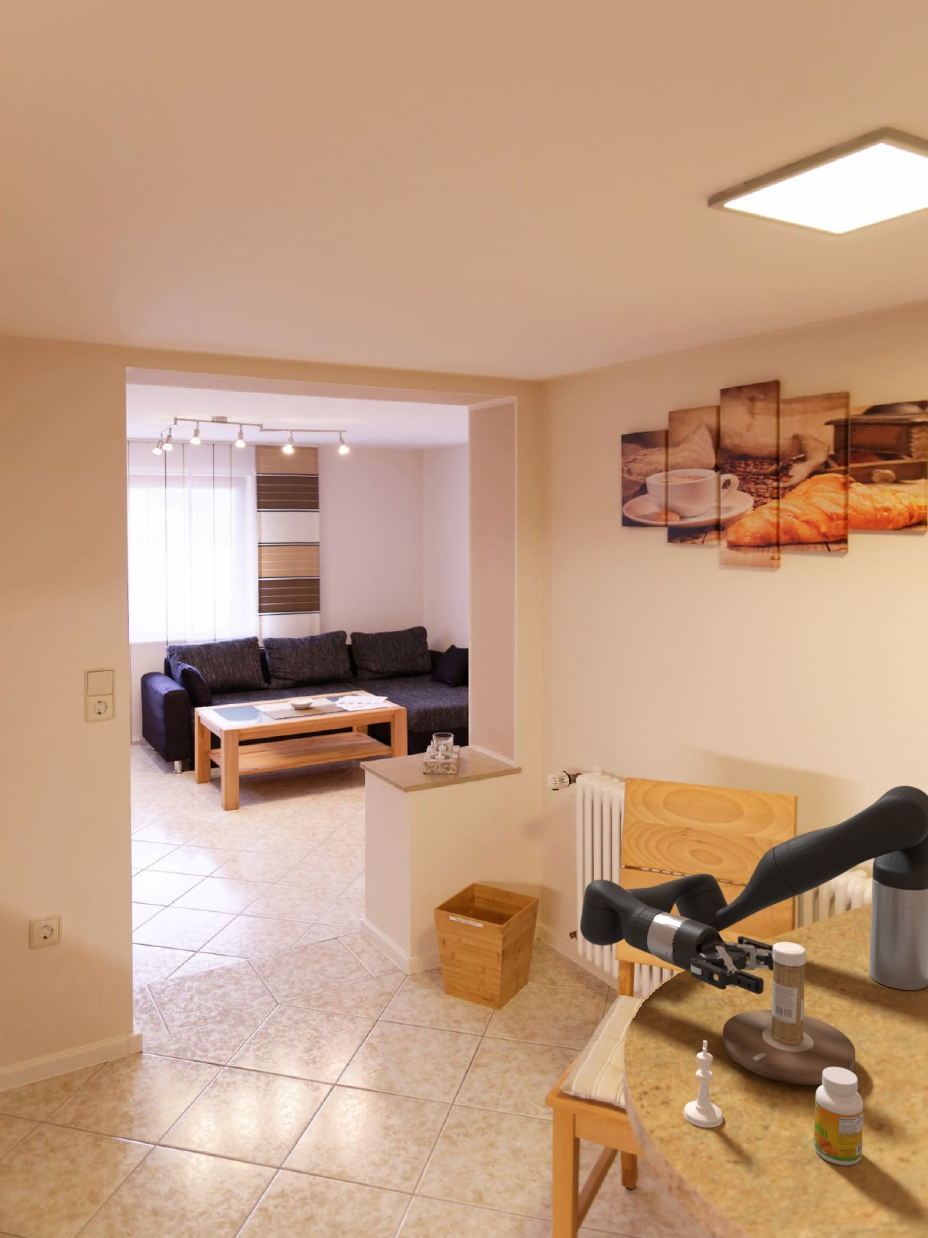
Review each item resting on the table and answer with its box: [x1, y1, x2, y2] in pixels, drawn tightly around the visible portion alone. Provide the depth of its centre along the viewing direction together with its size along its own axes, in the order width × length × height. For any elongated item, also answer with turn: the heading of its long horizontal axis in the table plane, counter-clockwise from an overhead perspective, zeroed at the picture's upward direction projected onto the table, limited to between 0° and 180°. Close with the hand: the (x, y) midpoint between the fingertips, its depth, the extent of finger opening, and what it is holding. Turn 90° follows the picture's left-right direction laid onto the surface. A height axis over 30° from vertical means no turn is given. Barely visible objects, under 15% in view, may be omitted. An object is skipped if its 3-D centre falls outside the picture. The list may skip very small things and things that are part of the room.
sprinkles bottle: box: [771, 941, 807, 1045], centre depth 133 cm, size 5×5×14 cm
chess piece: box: [683, 1039, 724, 1129], centre depth 120 cm, size 5×5×10 cm
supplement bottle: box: [813, 1067, 864, 1166], centre depth 113 cm, size 5×5×10 cm
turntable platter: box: [722, 1009, 856, 1086], centre depth 134 cm, size 18×18×2 cm
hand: (777, 978), depth 134 cm, fingers open, 8 cm apart
